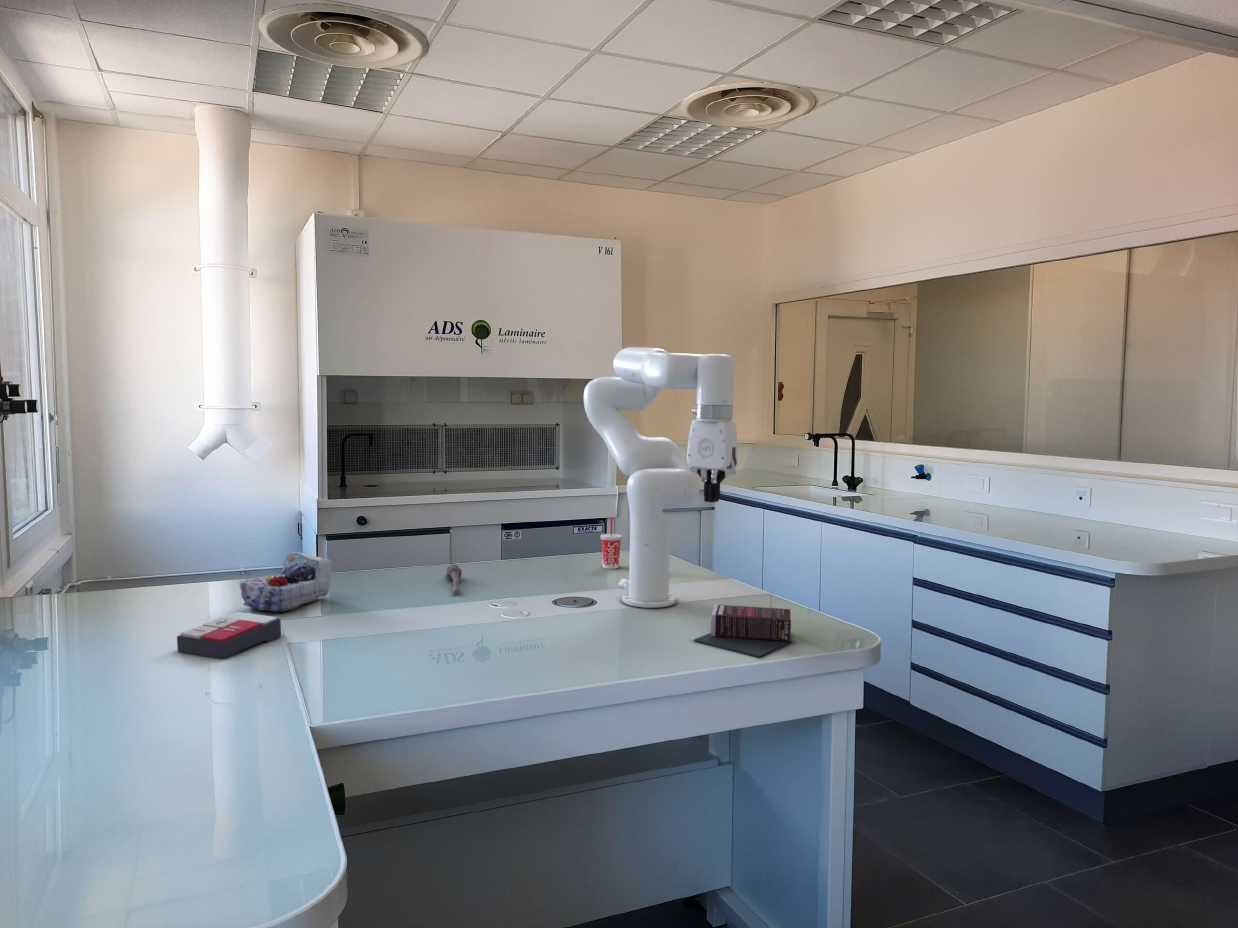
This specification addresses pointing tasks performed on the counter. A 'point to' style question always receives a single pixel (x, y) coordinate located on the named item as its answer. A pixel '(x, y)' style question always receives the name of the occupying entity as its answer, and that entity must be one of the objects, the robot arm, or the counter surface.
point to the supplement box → (751, 622)
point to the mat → (743, 644)
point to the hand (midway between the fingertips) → (711, 501)
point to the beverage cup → (611, 549)
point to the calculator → (229, 635)
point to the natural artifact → (454, 577)
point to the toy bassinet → (289, 584)
